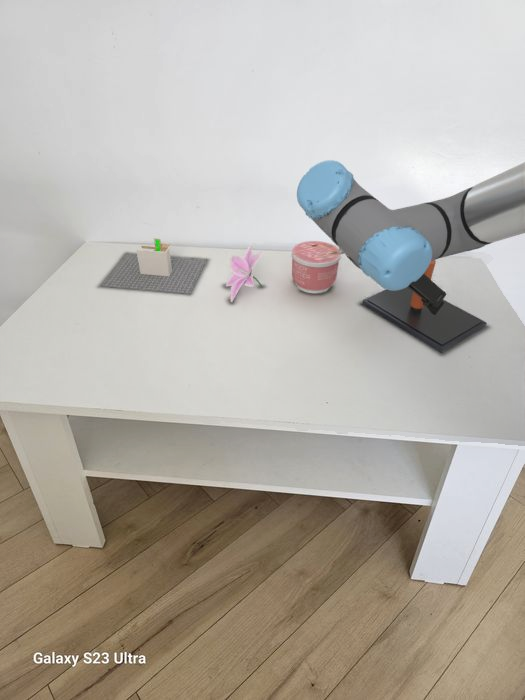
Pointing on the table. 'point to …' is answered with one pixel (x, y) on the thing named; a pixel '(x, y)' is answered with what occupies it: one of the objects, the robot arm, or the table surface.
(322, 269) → the container
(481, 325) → the plate
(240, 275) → the lily
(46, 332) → the table surface
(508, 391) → the table surface
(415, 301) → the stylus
